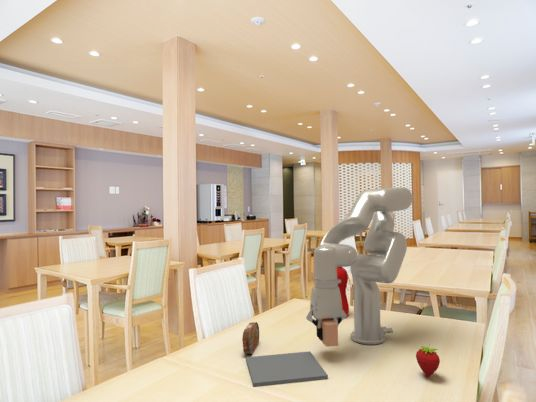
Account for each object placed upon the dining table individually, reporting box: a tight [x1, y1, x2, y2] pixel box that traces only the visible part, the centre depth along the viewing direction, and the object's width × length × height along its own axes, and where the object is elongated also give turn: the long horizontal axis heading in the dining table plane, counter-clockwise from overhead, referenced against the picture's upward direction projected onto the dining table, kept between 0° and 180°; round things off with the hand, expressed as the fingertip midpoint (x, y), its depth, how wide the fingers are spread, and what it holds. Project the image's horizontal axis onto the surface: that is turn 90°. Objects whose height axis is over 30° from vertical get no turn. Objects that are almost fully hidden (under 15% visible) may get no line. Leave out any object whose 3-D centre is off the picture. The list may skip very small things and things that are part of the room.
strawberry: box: [415, 343, 441, 378], centre depth 110 cm, size 6×8×10 cm
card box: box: [320, 318, 339, 348], centre depth 125 cm, size 4×10×7 cm, turn 10°
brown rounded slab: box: [241, 321, 260, 355], centre depth 133 cm, size 15×3×8 cm, turn 168°
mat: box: [245, 350, 329, 387], centre depth 117 cm, size 22×18×1 cm
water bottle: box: [337, 267, 352, 316], centre depth 169 cm, size 9×11×25 cm
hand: (326, 337), depth 125 cm, fingers closed on card box, 4 cm apart
